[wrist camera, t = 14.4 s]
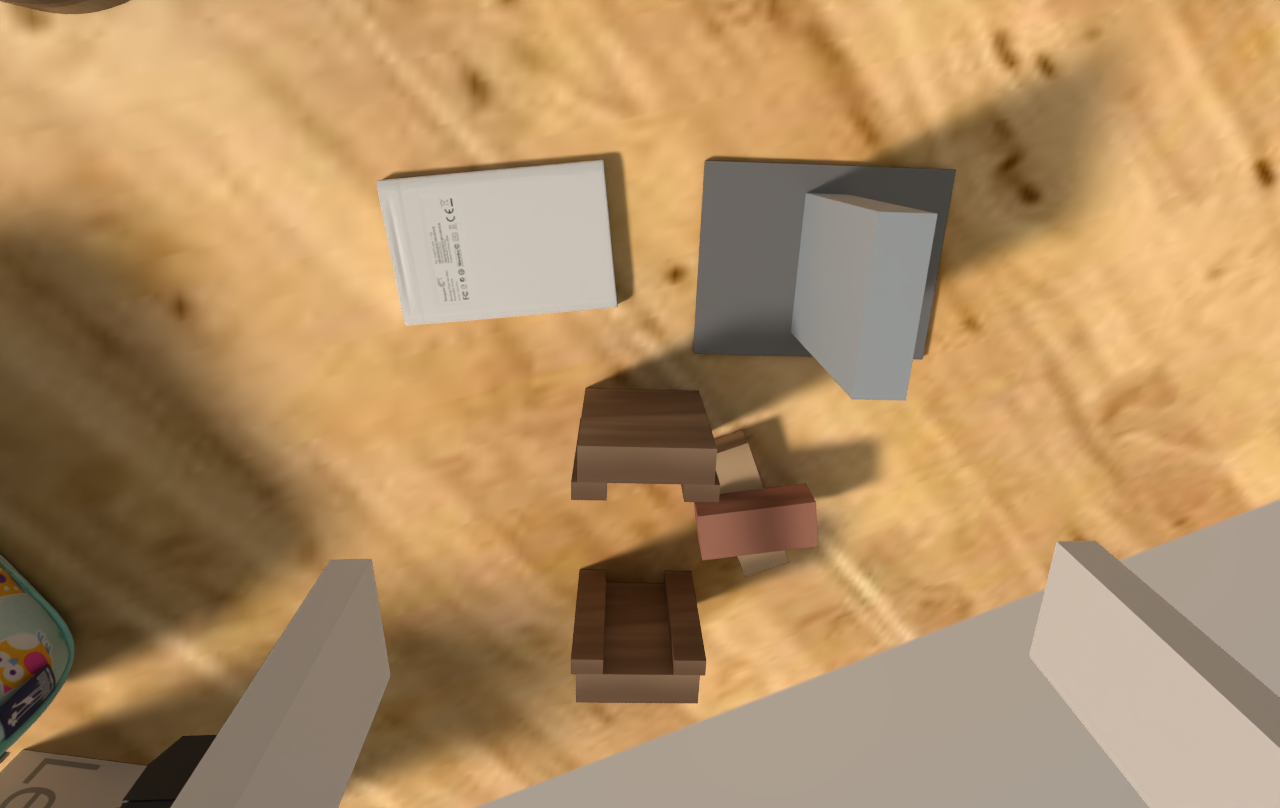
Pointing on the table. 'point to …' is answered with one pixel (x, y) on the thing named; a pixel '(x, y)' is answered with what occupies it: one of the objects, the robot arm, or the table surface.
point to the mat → (786, 245)
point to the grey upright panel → (862, 290)
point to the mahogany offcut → (757, 522)
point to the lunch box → (28, 655)
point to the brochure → (65, 781)
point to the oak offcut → (743, 476)
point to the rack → (665, 612)
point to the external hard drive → (500, 242)
